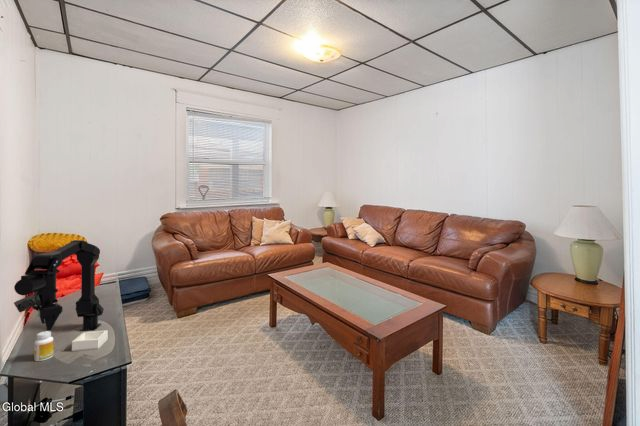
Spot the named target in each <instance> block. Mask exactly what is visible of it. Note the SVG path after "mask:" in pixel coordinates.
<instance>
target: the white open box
mask: <svg viewBox="0 0 640 426" xmlns="http://www.w3.org/2000/svg"><path fill="white" fill-rule="evenodd" d="M108 331H109V330H108V329H107V330H105V329H104V330H90V331H82V333H81V334H79V335H78V336H77V337H75V339H73V340H72V341H71V352H80V351H81V352H82V351H92V350H93V351H94V350H99V349H100V348H101V347H102V346H103V345H104V344H105V342H106V341H107V340H108V339H109V337H108V335H109V334H108V333H109V332H108Z"/></svg>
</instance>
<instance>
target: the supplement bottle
mask: <svg viewBox="0 0 640 426" xmlns="http://www.w3.org/2000/svg"><path fill="white" fill-rule="evenodd" d="M33 345H34V347H33V348H34V350H33V351H34V353H33V354H34V356H33V357H34V361H36V362H43V361H46V360H50V359H51V358H53V356H54V337H53V336H52V331H51V330H49V331H47V330H45V331H41V332H39V333H37V334H36V340H34V344H33Z"/></svg>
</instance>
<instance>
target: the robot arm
mask: <svg viewBox="0 0 640 426" xmlns="http://www.w3.org/2000/svg"><path fill="white" fill-rule="evenodd" d="M100 254H101V250H100V248H99V247H98V246H96V245H94V244H91V243H89V242H87V241H85V240H82V239H81V240H80V239H79V240H77V239H76V240H75V239H74V240H71V241H69V243H66V244H65V245H62V246H61V247H58V248H57V249H55V250H53V251H47V252H43V253H39V254H35V255H34V257H33V258H32V259H31V260H30V263H29V265H28V266H27V269H26V270H25V272H24V275H21V276H20V279H18V280H17V281H16V283H15V284H14V287H13V288H14V289H13V290H14V291H15V293H16V294H18V295H20V296H24V297H23V298H21V299H19V300H16V301H14V302H13V304H14V306H15V308H16V310H17V311H18V313H22V312H25V311H26V310H28V309H30V308H32V309H33V310H35V311H36V312H37V313H38V316H39V319H40V323H41V324H42V325H43V324H44V325H45V328H46V331H51V330H52V329H53V327H54V325H55V323H56V322H57V319H58V318H59V317H60V315H61V314H62V313H63V306H62V305H61V304H59V303H58V302H59V301H58V299H57V293H58V291H59V290H58V288H57V274H58V273H60V272H61V270H59V269H58V268H59V267H60V266H61V265H62V264H63V261H64V260H66V259H67V258H69V257H71V256H72V255H75V256H76V261H77V262H78V264H79V265H80V266H81V268H80V269H81V270H80V273H81V274H80V276H81V277H80V279H81V281H80V282H81V283H80V284H81V285H80V287H81V292H80V293H81V294H80V295H81V296H80V298H79V299H78V300H77V301H76V302H75V312H76V316H77V318H82V327H81V328H80V329H79V332H87V331H97V329H98V328H99V327H100V326H101V325H102V323H99V317H100V316H102V315H103V313H104V311H105V309H104V307H103V306H102V305H101V304H100V299H99V298H98V297H97V295H96V293H95V292H96V291H95V290H96V289H95V287H96V286H95V283H96V282H95V281H96V280H95V279H96V278H95V277H96V276H95V275H96V272H95V269H96V267H95V265H96V263H97V262H98V260H99V259H100ZM30 294H31V295H30ZM27 295H28V296H27ZM25 296H26V297H25Z"/></svg>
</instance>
